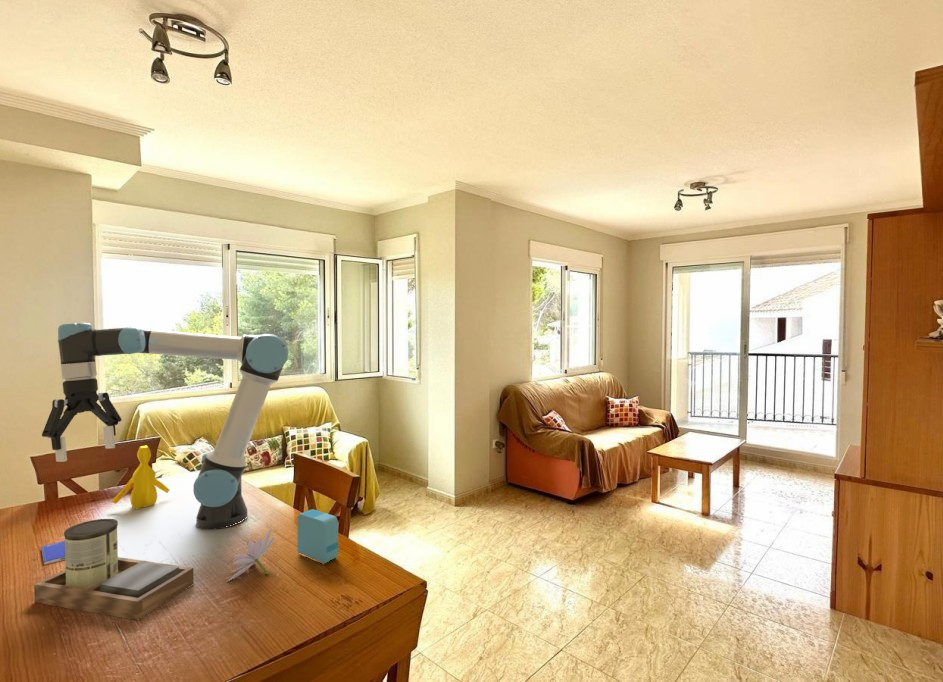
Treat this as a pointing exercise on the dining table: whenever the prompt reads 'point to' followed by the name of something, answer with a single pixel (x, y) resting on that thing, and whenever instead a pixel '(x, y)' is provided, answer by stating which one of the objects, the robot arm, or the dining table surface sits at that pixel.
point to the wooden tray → (120, 589)
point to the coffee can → (91, 553)
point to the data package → (317, 535)
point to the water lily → (252, 555)
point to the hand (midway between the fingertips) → (87, 454)
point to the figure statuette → (142, 483)
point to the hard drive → (53, 552)
